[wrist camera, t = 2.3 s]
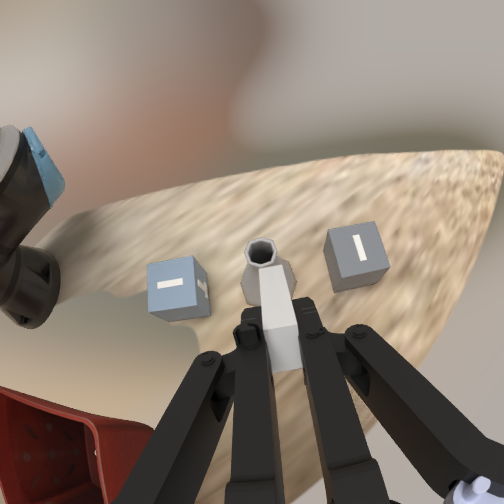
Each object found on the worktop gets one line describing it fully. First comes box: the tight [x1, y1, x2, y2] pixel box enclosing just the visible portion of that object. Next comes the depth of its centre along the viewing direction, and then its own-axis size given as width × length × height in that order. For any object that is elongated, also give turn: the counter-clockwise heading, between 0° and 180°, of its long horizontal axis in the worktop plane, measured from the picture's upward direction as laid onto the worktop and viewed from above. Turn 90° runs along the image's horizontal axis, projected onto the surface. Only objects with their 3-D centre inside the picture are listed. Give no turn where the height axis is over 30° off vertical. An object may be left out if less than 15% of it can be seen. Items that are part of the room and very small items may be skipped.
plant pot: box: [0, 386, 154, 504], centre depth 21 cm, size 19×19×17 cm
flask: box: [240, 237, 297, 307], centre depth 32 cm, size 7×7×10 cm
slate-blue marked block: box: [147, 256, 211, 322], centre depth 35 cm, size 6×6×6 cm
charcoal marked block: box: [323, 221, 390, 293], centre depth 34 cm, size 6×6×6 cm
